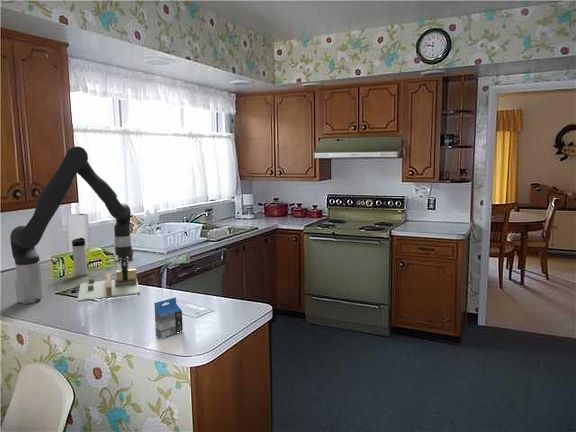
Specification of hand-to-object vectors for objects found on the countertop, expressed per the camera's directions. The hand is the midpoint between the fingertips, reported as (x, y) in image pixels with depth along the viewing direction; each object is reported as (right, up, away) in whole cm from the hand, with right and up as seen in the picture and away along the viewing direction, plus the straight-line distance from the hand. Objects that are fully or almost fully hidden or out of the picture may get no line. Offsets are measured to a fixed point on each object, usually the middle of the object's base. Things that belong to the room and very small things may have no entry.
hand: (125, 278), depth 216 cm
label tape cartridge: (+38, -12, -59) cm, 71 cm away
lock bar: (+1, -2, 0) cm, 2 cm away
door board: (-5, -4, -7) cm, 9 cm away
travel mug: (-30, -1, +17) cm, 34 cm away
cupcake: (-19, +4, +52) cm, 55 cm away
